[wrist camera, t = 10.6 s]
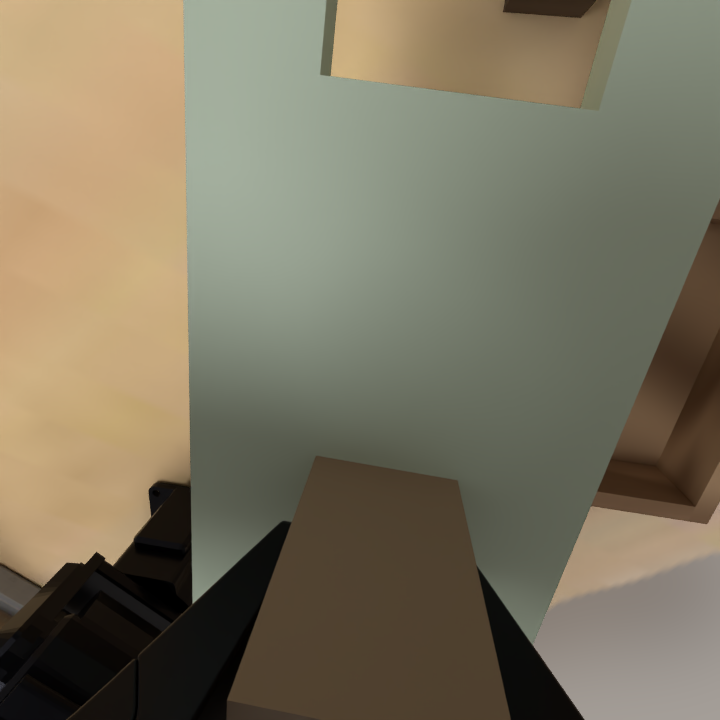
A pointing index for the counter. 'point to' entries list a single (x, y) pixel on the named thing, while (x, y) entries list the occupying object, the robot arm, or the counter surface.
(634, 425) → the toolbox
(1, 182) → the counter surface
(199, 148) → the lid
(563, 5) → the key peg
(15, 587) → the tankard
